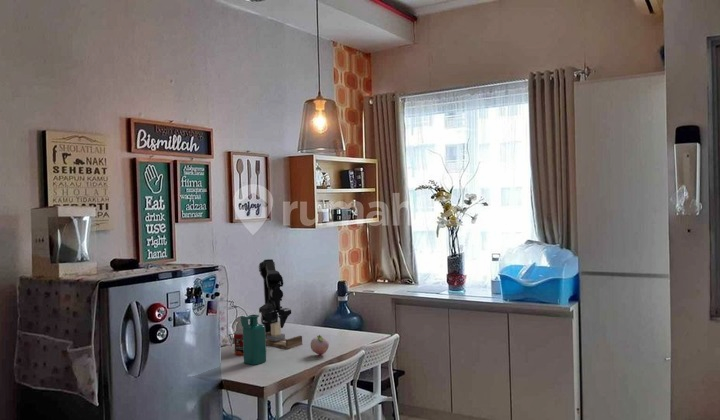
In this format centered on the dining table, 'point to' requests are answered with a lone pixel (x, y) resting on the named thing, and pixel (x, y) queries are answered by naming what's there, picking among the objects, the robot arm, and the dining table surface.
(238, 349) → the canned food
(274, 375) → the dining table surface
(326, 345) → the decorative fruit
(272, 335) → the handle
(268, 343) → the base
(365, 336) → the dining table surface
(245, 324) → the pitcher
